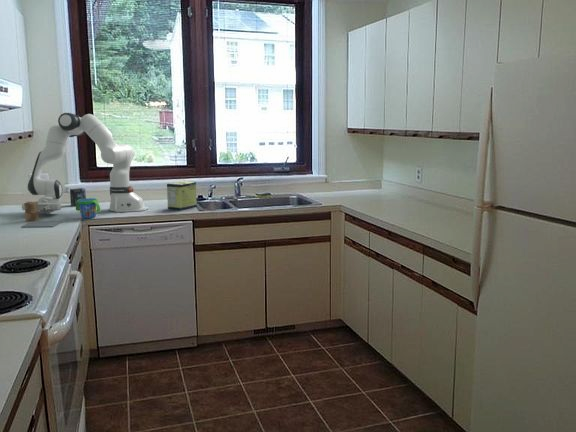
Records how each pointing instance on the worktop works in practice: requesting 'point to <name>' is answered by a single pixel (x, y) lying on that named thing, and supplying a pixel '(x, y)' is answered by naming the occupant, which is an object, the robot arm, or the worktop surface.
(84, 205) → the snack cup
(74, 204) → the box
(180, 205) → the protein box
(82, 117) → the robot arm
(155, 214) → the worktop surface
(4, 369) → the worktop surface
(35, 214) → the walnut block
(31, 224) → the mat
